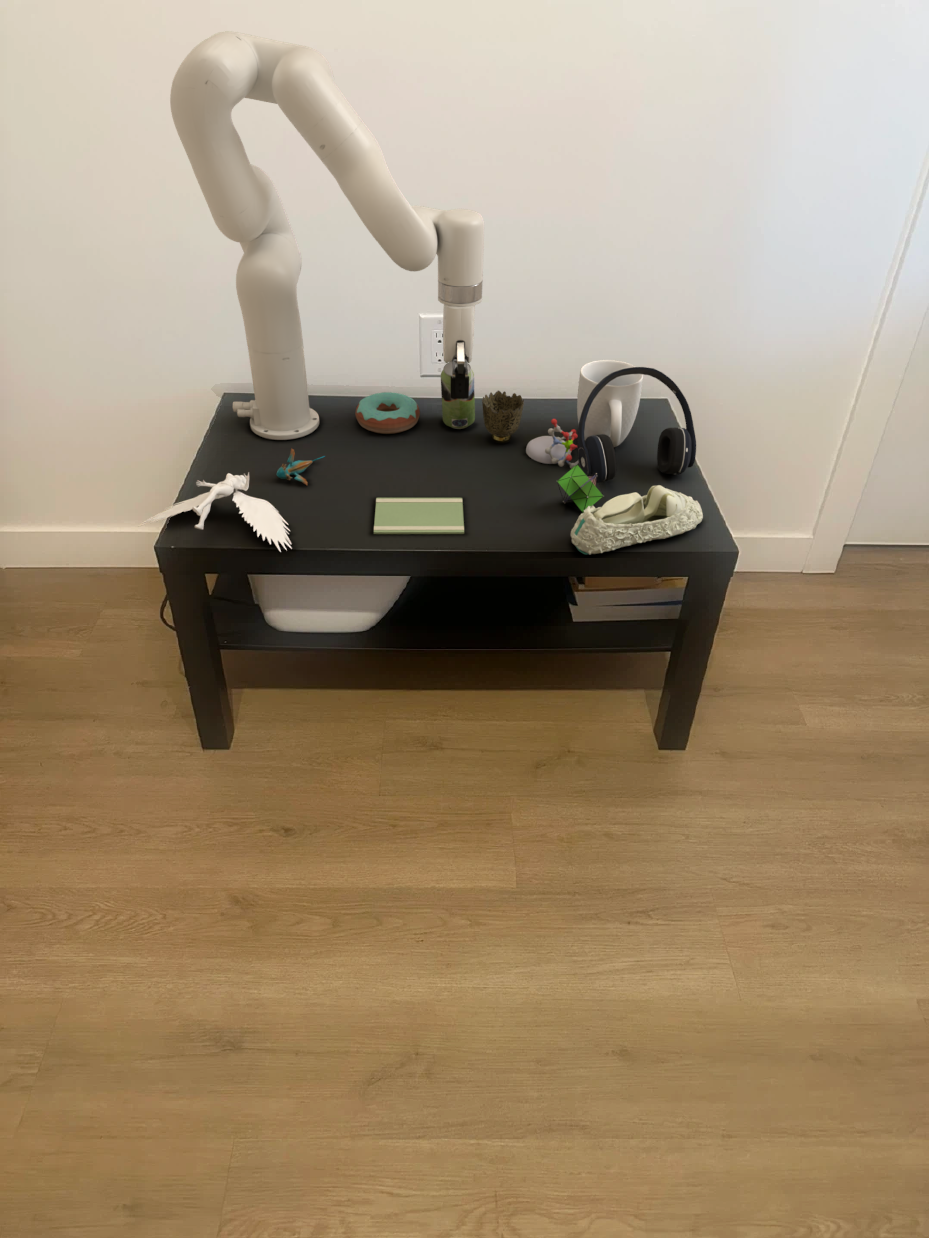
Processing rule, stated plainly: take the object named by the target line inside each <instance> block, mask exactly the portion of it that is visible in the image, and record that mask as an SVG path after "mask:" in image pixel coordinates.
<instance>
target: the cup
mask: <svg viewBox="0 0 929 1238" xmlns="http://www.w3.org/2000/svg"><path fill="white" fill-rule="evenodd" d="M481 403H482V415H483V416H482V418H483V423H484V427H485V429H486V431H487V432H488V433H489V434H490V438H491V440H492V442H494V443H496V444H500V445H502V444H507V443H510V441H511V440H512V435H514V434H515V433H516V432H517V431H518V429H519V427H520V424H521V419H522V415H523V411H524V406H525V399H523V398H522V395H521V394H518V395H517V393H515V392H514V393H512V395H511V396H510V395H507V393H506V391H503V392H501V390H496V391H495V393H494V394H493V393H492V391H490V393H489V395H487V394H485V395H484V396H482V399H481Z"/></svg>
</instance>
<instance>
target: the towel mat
mask: <svg viewBox="0 0 929 1238" xmlns="http://www.w3.org/2000/svg"><path fill="white" fill-rule="evenodd" d="M463 504H464V503H463V497H376V498H375V510H374V511H375V512H374V524H373V535H465V523H464V522H465V520H464V505H463Z"/></svg>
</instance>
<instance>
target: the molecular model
mask: <svg viewBox="0 0 929 1238" xmlns="http://www.w3.org/2000/svg"><path fill="white" fill-rule="evenodd" d="M550 423H551V425H553V426H554V427H553V428H552V427H551V428H548V430H547V434H548V435H549V436H552V437H553V439H554V441H553V444H552V445H551V446H550V447H549V448H546V449H545V453H546V454H549V455H550V457H551V458H552V460H551V462H552V463H553V464H552V465H558V466H559V467H564V466H565V464H567V465H569V468H570V470H571V469H572V468H573V467H574V466H575V465H576V464H578V465H579V461H578V460H577V461H575V462H571V461H572V459H573V456H572V452H573V450H576V449H577V444H574V440H576V439H578V433H577V430H576V429H575V428H573V429H571V430H570V431H569V432H568V431H564V430H563V429H561V426H559V424H558V420H557V419H556V418H552V419H551V420H550ZM555 433H560V434H562V437H559V436H555ZM555 437H557V438H555ZM561 440H565V443H564V442H561ZM557 444H562V445H564V446H565V448H566V451H565V455H564V456H563V457H562V458H561V459H557V458H554V457H553V455H552V454H551V449H552V448H553V447H554V445H557ZM569 449H570V450H569ZM568 450H569V452H568ZM558 461H559V462H558ZM557 462H558V463H557Z"/></svg>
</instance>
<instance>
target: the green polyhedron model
mask: <svg viewBox="0 0 929 1238" xmlns="http://www.w3.org/2000/svg"><path fill="white" fill-rule="evenodd" d="M579 466H580V465H579V463H578V464H576V465H575V466H574V467H573V468H572V469H571V468H570V469H568V471H567V472H566V473H564V474H563V475H562V476H561V477H559V478H558V480H556V482H557V486H558V487H561V488H562V489H563V490H564V491H565V494H564V495H563V494H562V490H561V488H558V489H559V492H560V493H559V494H560V495H561V500H562V503H564V504H567V506H569V507H571V508H573V509H575V510H577V511H578V512H581V514H582V513H584V510H585V509H586V508H587V507H588V506H591V507H592V506H594V505H595V504H596V503H597V502H599V501H600V500H601V499H602V498H603V497H605V495H604V494H603V490H602V487H601V485H600V483H598V484H599V488H600V490H601V491H600V490H599V489H598V487H597V486H596V485H597V483H596V479H598V478H597V475H596V474H597V473H595V475H594V476H586V474H585V473H584V472H583V471H582V470H581V468H580V467H579ZM581 467H582V466H581ZM582 468H584V467H582ZM585 469H586V468H585ZM587 471H588V469H587ZM589 471H590V470H589ZM591 472H592V471H591ZM593 473H594V472H593ZM593 473H592V474H589V475H593ZM598 482H599V481H598ZM569 501H570V502H569ZM571 502H573V503H574V504H575V505H576V506H577V507H578V508H576V507H574V506H572V505H570V504H569V503H571Z"/></svg>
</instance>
